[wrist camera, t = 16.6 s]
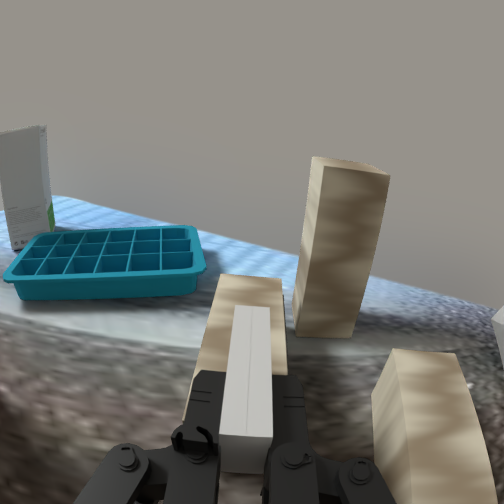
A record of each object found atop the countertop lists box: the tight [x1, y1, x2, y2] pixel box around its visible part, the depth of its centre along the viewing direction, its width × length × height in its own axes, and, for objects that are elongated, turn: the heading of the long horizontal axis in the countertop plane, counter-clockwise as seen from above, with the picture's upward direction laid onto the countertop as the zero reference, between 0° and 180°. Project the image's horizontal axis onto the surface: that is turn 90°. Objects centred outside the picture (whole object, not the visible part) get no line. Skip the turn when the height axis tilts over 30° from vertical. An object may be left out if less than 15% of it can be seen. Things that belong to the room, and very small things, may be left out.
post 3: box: [371, 348, 498, 504], centre depth 11 cm, size 5×4×13 cm
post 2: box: [292, 156, 390, 338], centre depth 23 cm, size 5×4×13 cm
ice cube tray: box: [3, 225, 206, 300], centre depth 30 cm, size 12×20×3 cm, turn 105°
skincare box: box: [0, 125, 55, 250], centre depth 33 cm, size 8×7×16 cm
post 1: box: [182, 274, 289, 424], centre depth 18 cm, size 5×4×13 cm
